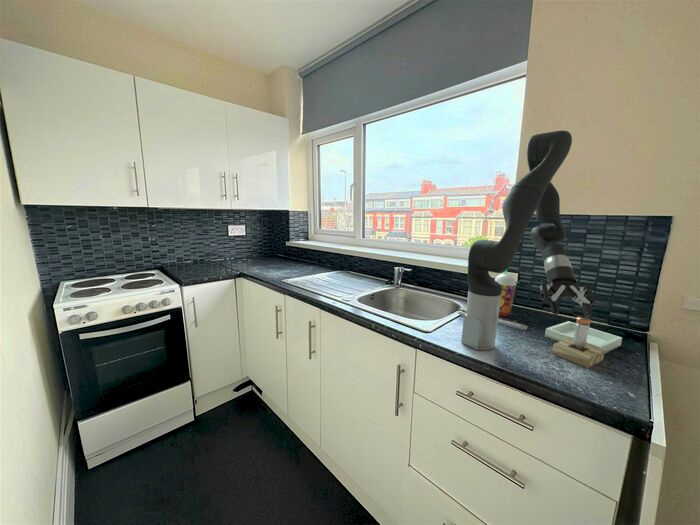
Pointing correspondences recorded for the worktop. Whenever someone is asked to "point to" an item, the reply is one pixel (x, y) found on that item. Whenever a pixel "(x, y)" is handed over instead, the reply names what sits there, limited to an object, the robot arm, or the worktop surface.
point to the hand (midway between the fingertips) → (572, 315)
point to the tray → (593, 338)
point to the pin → (581, 333)
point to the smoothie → (506, 293)
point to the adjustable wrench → (500, 321)
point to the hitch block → (578, 353)
